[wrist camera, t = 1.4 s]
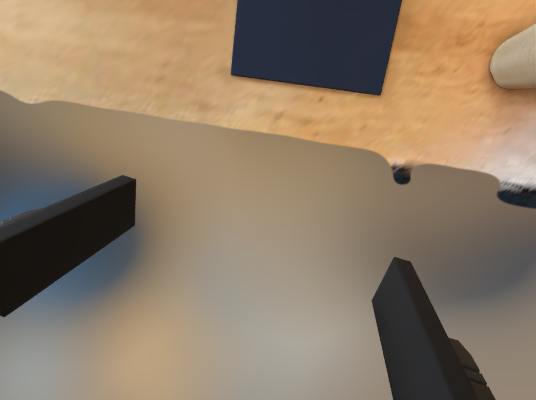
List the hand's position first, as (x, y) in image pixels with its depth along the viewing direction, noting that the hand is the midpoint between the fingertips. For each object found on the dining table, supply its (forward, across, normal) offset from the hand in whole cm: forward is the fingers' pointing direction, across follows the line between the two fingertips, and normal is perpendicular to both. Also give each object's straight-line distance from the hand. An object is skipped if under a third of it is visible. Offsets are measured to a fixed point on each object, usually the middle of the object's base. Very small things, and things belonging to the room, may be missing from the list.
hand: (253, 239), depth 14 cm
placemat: (+30, -3, +17) cm, 34 cm away
